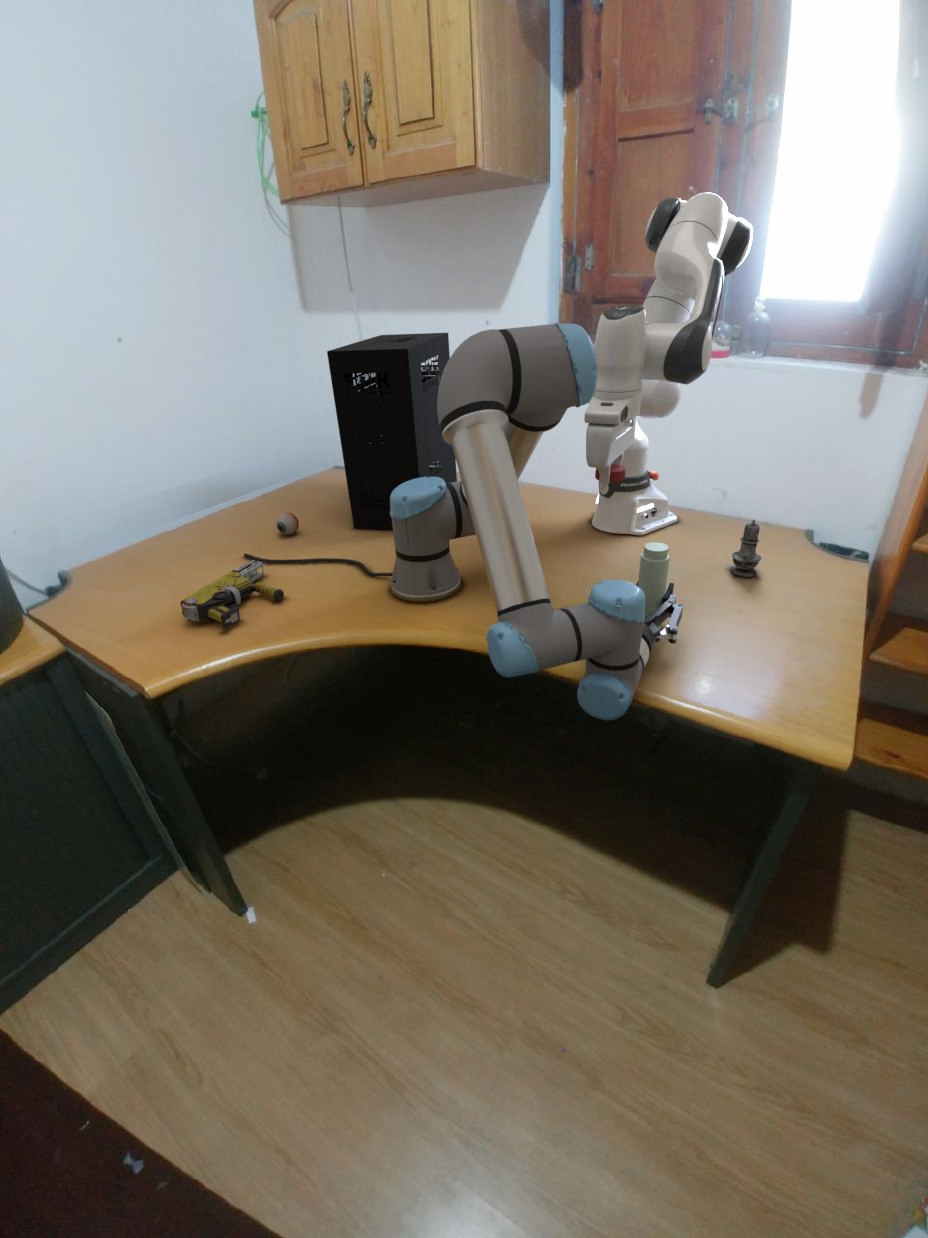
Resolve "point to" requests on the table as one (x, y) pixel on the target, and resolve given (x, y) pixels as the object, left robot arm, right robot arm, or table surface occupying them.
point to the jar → (653, 575)
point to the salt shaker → (747, 552)
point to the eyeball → (287, 523)
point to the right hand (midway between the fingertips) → (609, 478)
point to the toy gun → (227, 596)
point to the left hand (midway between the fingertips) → (655, 587)
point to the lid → (614, 473)
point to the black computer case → (389, 419)
